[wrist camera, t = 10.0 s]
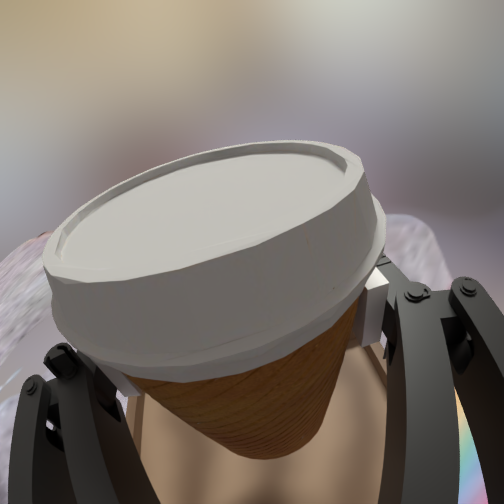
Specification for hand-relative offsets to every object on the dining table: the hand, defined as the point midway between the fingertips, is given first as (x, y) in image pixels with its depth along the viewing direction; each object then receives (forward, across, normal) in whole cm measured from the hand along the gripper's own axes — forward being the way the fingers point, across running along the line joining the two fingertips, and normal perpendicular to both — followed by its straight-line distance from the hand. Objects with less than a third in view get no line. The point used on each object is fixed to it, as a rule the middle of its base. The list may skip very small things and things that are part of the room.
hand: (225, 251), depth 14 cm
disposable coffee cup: (-5, 0, -7) cm, 9 cm away
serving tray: (-5, -1, -16) cm, 17 cm away
